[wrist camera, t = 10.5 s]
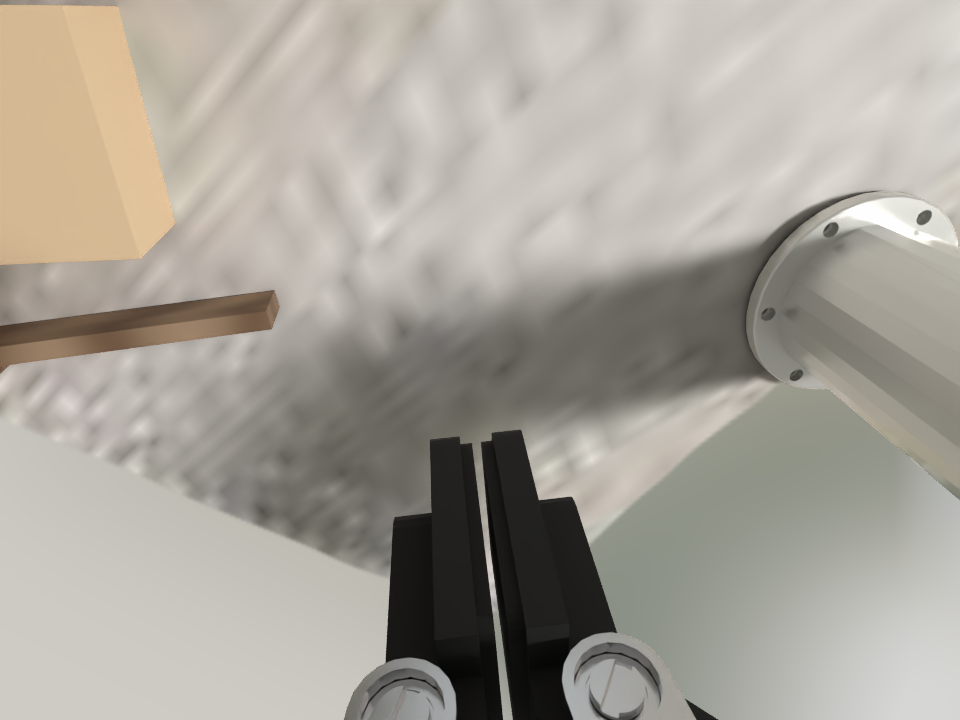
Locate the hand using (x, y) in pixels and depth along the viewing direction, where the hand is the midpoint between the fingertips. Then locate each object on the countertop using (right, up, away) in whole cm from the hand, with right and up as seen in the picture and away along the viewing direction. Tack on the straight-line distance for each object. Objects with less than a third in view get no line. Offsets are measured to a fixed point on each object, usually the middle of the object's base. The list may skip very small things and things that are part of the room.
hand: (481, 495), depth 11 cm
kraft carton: (-20, +13, +15) cm, 28 cm away
